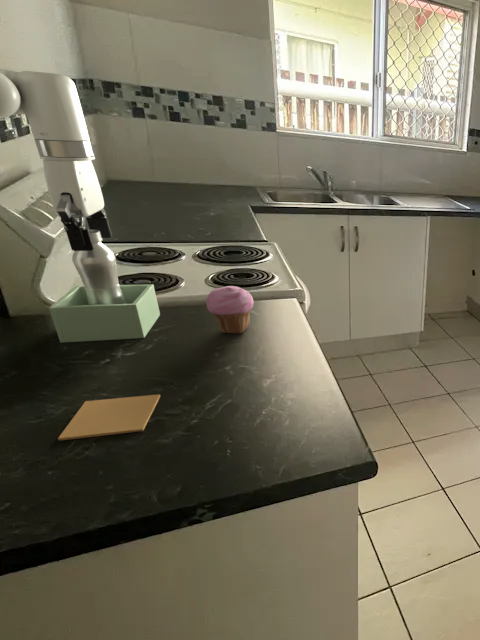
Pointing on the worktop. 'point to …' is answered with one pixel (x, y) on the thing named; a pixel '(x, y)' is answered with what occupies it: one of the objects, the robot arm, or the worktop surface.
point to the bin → (105, 315)
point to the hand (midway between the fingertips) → (93, 243)
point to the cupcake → (230, 308)
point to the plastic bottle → (99, 273)
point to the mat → (110, 417)
